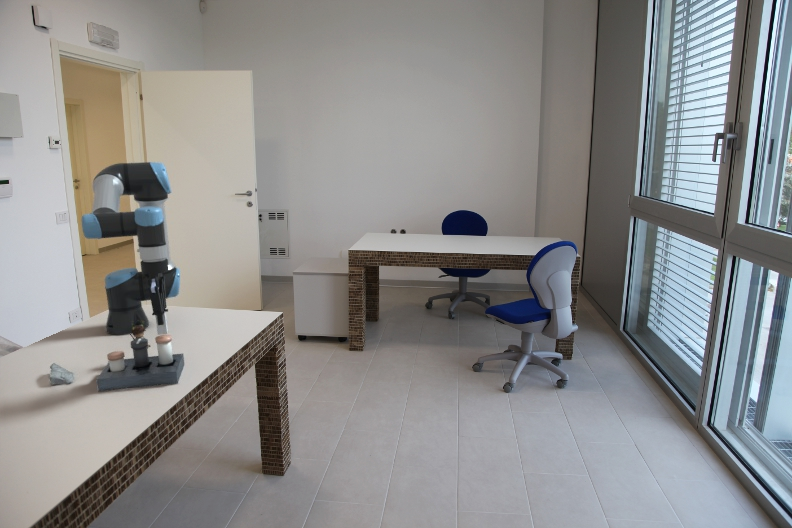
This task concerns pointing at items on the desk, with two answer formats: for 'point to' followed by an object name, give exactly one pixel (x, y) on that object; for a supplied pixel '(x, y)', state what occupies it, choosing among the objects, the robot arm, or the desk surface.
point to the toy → (138, 332)
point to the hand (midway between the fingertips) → (162, 333)
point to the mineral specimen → (60, 375)
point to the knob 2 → (164, 349)
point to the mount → (141, 374)
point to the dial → (140, 352)
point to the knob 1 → (116, 361)
